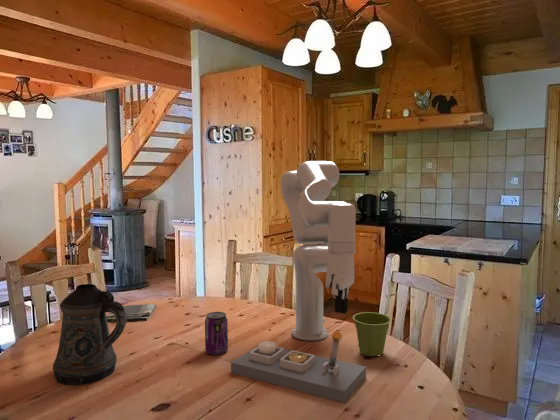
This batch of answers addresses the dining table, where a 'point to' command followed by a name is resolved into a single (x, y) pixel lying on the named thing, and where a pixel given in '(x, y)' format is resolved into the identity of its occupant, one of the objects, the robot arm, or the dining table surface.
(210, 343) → the beverage can
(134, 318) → the dish towel
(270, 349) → the ivory button
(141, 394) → the dining table surface
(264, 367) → the switch panel
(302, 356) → the brass button
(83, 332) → the beer stein
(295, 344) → the dining table surface
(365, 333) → the plant pot
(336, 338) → the lever
